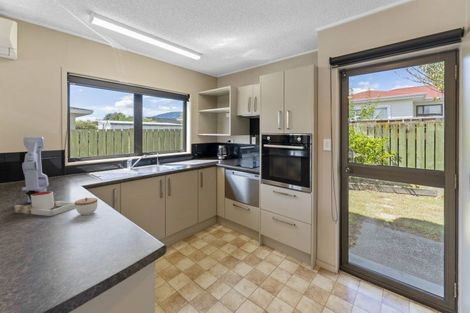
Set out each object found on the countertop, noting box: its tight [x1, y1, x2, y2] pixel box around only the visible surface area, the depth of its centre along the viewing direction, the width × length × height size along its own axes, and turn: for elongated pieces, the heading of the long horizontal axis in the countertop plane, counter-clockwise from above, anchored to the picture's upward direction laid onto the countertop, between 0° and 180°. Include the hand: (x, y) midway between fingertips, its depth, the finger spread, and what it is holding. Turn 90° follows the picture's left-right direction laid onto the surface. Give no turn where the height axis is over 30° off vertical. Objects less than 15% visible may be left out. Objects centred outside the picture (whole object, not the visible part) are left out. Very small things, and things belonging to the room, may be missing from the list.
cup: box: [30, 190, 55, 210], centre depth 133 cm, size 10×10×10 cm
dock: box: [30, 200, 76, 217], centre depth 131 cm, size 15×15×3 cm
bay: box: [13, 198, 57, 215], centre depth 134 cm, size 12×15×4 cm
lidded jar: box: [74, 196, 99, 216], centre depth 125 cm, size 11×11×9 cm
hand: (34, 202), depth 134 cm, fingers closed
